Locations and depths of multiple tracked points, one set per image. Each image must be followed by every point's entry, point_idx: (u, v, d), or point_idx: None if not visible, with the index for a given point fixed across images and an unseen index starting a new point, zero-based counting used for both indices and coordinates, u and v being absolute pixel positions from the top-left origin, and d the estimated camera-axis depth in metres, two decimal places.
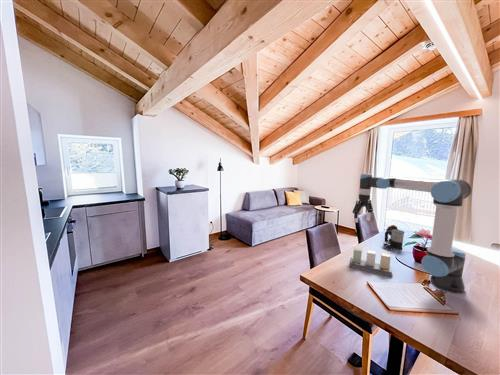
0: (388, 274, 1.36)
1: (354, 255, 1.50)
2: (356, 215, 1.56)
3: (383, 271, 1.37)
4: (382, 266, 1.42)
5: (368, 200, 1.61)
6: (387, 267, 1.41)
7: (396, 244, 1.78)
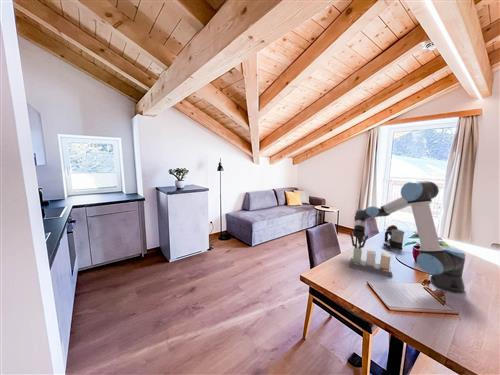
0: (388, 274, 1.36)
1: (354, 255, 1.49)
2: (355, 247, 1.57)
3: (383, 271, 1.37)
4: (382, 266, 1.42)
5: None
6: (387, 267, 1.41)
7: (396, 244, 1.78)
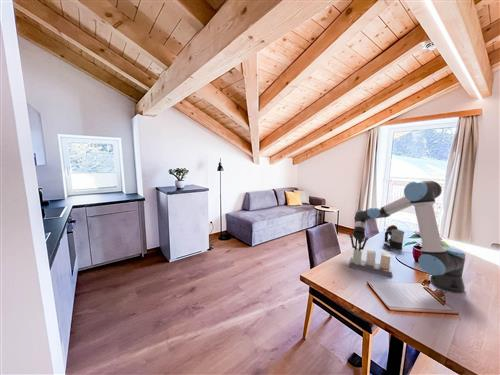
0: (388, 274, 1.36)
1: (354, 257, 1.46)
2: (355, 249, 1.53)
3: (383, 271, 1.37)
4: (382, 266, 1.42)
5: (366, 237, 1.57)
6: (387, 267, 1.41)
7: (396, 244, 1.78)
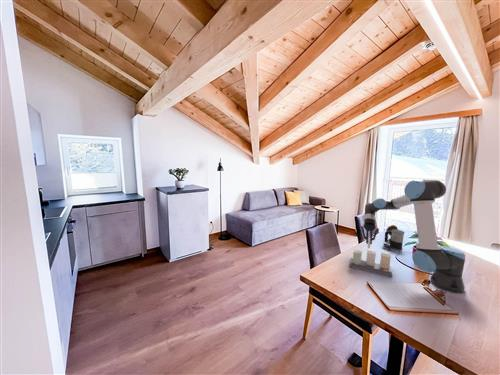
0: (388, 274, 1.36)
1: (354, 257, 1.46)
2: (367, 240, 1.59)
3: (383, 271, 1.37)
4: (382, 266, 1.42)
5: (376, 228, 1.63)
6: (387, 267, 1.41)
7: (396, 244, 1.78)
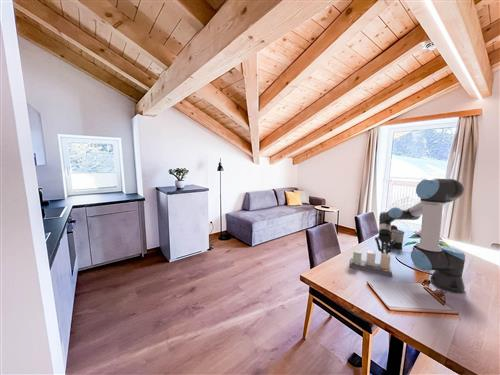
0: (388, 274, 1.36)
1: (354, 257, 1.46)
2: (382, 252, 1.49)
3: (383, 271, 1.37)
4: (382, 266, 1.42)
5: (392, 240, 1.52)
6: (387, 267, 1.40)
7: (396, 244, 1.78)
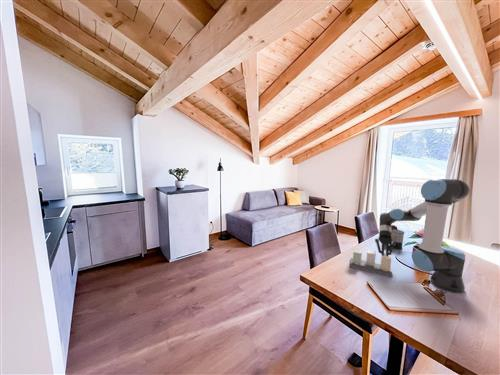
0: (388, 274, 1.36)
1: (354, 257, 1.46)
2: (382, 254, 1.45)
3: (383, 271, 1.37)
4: (382, 269, 1.38)
5: None
6: (388, 270, 1.37)
7: (396, 244, 1.78)
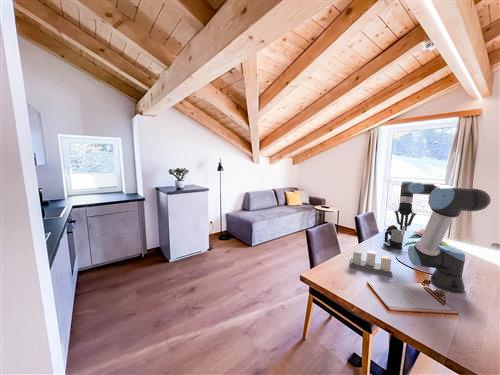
0: (388, 274, 1.36)
1: (354, 257, 1.46)
2: (401, 227, 1.52)
3: (383, 271, 1.37)
4: (382, 269, 1.38)
5: None
6: (388, 270, 1.37)
7: (396, 244, 1.77)
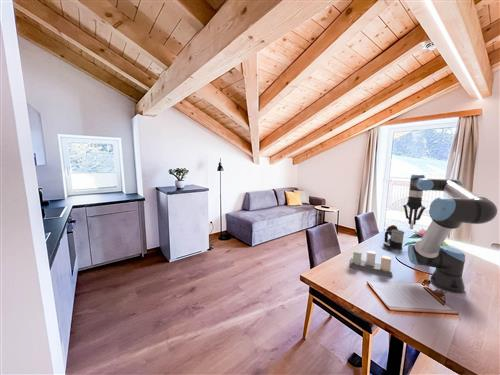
0: (388, 274, 1.36)
1: (354, 257, 1.46)
2: (410, 221, 1.49)
3: (383, 271, 1.37)
4: (382, 269, 1.38)
5: None
6: (388, 270, 1.37)
7: (396, 244, 1.77)
